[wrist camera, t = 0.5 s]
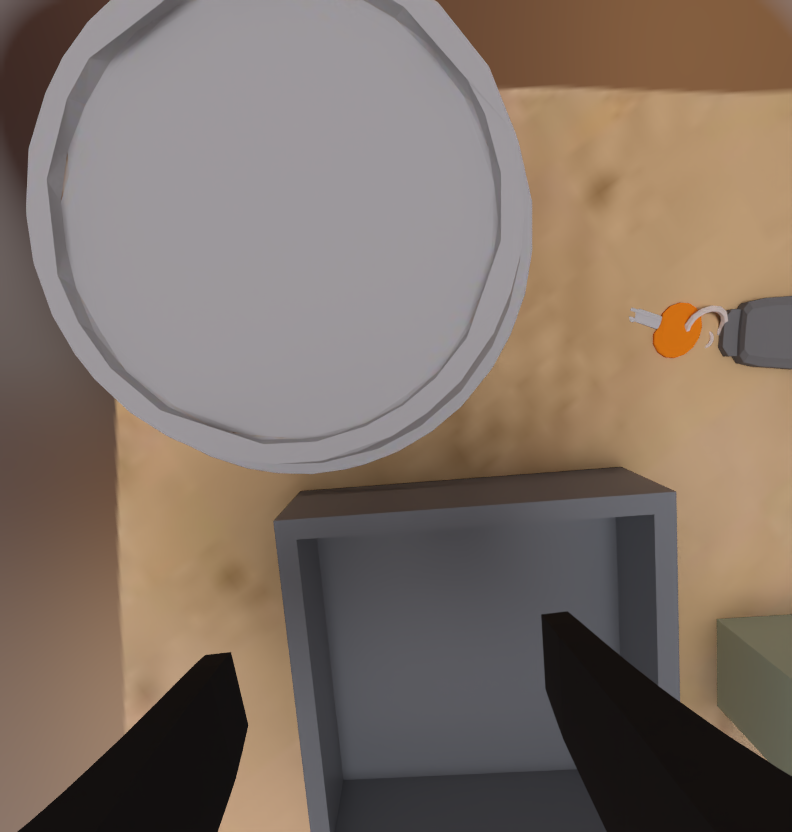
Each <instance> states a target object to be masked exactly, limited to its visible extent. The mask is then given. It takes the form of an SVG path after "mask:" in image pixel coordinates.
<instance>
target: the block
mask: <svg viewBox="0 0 792 832" xmlns="http://www.w3.org/2000/svg"><path fill="white" fill-rule="evenodd" d="M717 706H718V707H719V708H720V709H721V710H722V711H723V712H724V713H725V715H726V716H727V717H728V718H729V719H730V720H731V721H732V722H733V723H734V724H735V725H736V727H737V728H738V729H739V730H740V731H741V732H742V733H743V734H744V735H745V736H746V737H747V738H748V740H749V741H750V742H751V743H752V744H753V745H754V746H755V747H756V748H757V749H758V750H759V752H760V753H761V754H762V755H763V756H764V757H765V758H766V759H767V760H768V761H769V762H770V763H771V764H773V765H774V766H776V767H777V768H779V769H781V770H782V771H784V772H786V773H787V774H789V775H791V776H792V614H791V615H774V616H758V617H741V618H725V619H717Z"/></svg>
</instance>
